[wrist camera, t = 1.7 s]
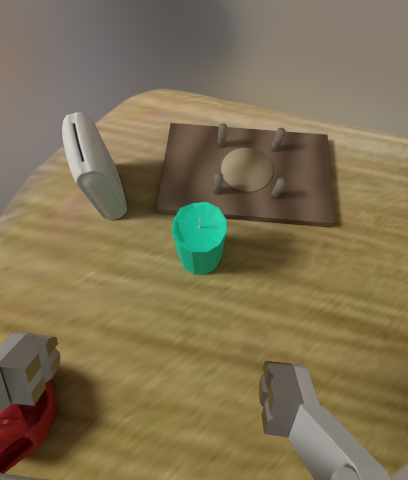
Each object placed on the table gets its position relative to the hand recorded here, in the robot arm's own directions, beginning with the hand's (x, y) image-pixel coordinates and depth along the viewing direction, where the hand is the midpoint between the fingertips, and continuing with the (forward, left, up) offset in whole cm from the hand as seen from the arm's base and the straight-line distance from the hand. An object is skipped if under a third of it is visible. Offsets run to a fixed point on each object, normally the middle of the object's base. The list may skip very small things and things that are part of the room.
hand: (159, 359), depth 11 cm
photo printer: (+15, -21, -26) cm, 37 cm away
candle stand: (-6, -26, -26) cm, 37 cm away
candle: (0, -12, -26) cm, 29 cm away
